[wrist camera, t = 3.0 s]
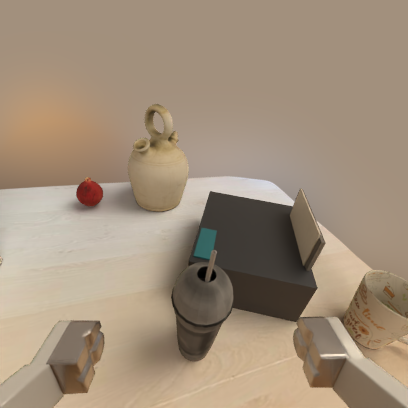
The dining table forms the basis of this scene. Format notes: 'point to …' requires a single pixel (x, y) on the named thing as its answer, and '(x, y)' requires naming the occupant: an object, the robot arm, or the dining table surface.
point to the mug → (378, 310)
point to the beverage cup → (201, 306)
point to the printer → (262, 251)
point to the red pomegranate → (89, 192)
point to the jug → (158, 165)
